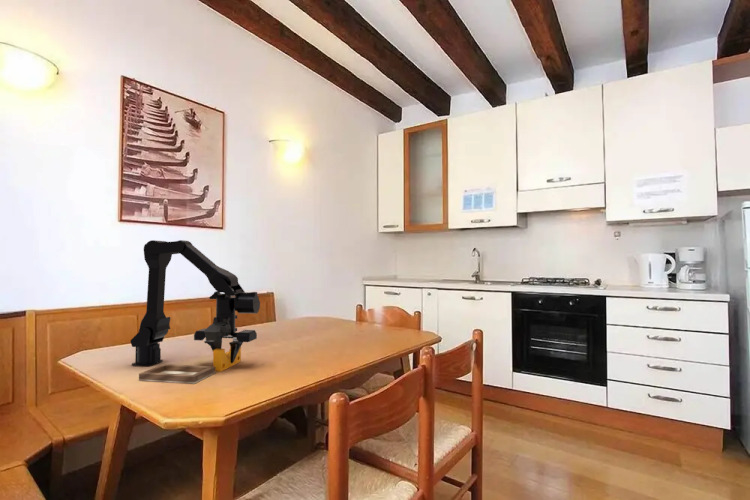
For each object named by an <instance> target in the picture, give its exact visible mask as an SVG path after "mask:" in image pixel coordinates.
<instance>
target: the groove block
mask: <svg viewBox="0 0 750 500" xmlns="http://www.w3.org/2000/svg"><path fill="white" fill-rule="evenodd" d="M214 374H216V371H215V367H213V365H212V366H210V365H208V366H207V365H192V364H191V365H189V364H188V365H187V364H169V363H163V364H161V365H158V366H155V367H153V368H150V369H147V370H145V371H143V372H140V373H138V381H142V382H158V383H159V382H160V383H174V384H175V383H176V384H177V383H178V384H188V385H189V384H190V385H191V384H193V385H195V384H197V383H200V382H201V381H203V380H205V379H207V378H209V377H210V376H213V375H214Z"/></svg>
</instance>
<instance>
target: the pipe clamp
mask: <svg viewBox="0 0 750 500" xmlns="http://www.w3.org/2000/svg"><path fill="white" fill-rule="evenodd" d="M229 346H230V345H229ZM212 352H213V353H212V355H213V357H212V364H213V365H212V367H215V372H217V373H218V372H220V373H221V372H223V371H225V370H227V369H229V368H231V367H233V366H234V365H236V364H238V363H240V362H242V346H241V347H240V349H239V351H238V353H237V356H236V358H235V360H234V362H233V363H231V346H230V347H229V351H227V352H226V350H225V348H221V349H215V350H212Z"/></svg>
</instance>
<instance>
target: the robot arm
mask: <svg viewBox="0 0 750 500" xmlns="http://www.w3.org/2000/svg"><path fill="white" fill-rule="evenodd" d="M178 254H180V255H182V257H184V258H185V259H186V260H187V261H188V262H190V264H192V265H193V266H194V267H195V268H196V269H198V270H199V271H200V272H201V273H203V275H205V276H206V278H207V280H208V283H209V284H210V285H211V286H212V288H214V290H215V291H214V293H213V294H211V295H210V296H209V300H215V302H216V304H215V305H216V306H215V316H214V317H213V319H212V323H211V324H210V325H209V326H208V327H206V328H201V329H199V330H196V331H195V333H194V334H193V341H203V343H205V344H207V345H208V346H210V348H211V350H212V351H213V350H215V349H222V345H223V339H232V341H230V342H228V344H229V346H231V363H233V362H234V360H235V358H236V356H237V353H238V351H239V349H240V347H241V348H242V345H243V344H244V343H249V342H250V343H251V342H252V341H254V340H257V339H258V338H257V336H258V334H257V332H256V329H244V330H241V331H238V328H237V327H236V319H237V320H238V315H237V314H236V312H237V313H238V314H258V313H259V311H260V308H261V301H260V298H259V296H258V292H257V291H251V292H249V291H248V292H245V290H244V288H243V287H242V286H241V284H240V283H239V278H238V277H237V275H236V274H235V273H232V272H230V271H229V270H227V269H224V268H222V267H220V266H218V265H217V264H215V262H213V261H212V260H211V259H210V258H208V257H207V256H206V255H205V254H204V253H202V251H201V250H200V249H198V248H197V247H195V245H193V243H192V241H189V240H184V239H183V240H181V239H180V240H175V241H166V240H155V239H154V240H149V241H148V242H147V243H144V245H143V256H144V261H145V263H146V265H147V268H148V276H147V292H146V293H147V295H146V309H145V310H146V311H145V314H144V315H143V317H142V319H141V320H140V325H139V329H138V332H137V333H136V335H134V336H133V337H132V338H131V339H130V344H131V347H133V348H135V360H134V361H135V362H132V363H131V366H142V367H143V366H144V367H151V366H153V365H156V364H159V363H160V362H161V363H162V362H163V361H164V359H161V356H162V355H161V350H162V349H161V347H160V345H161V344H160V343H162V342H163V341H164V339H165V336H167V335H168V333H169V330H171V326H170V324H171V323H170V322H171V317H170V316H166V313H165V312H164V311H165V310H164V308H165V306H164V305H165V292H166V291H165V290H166V274H167V273H166V272H167V267H168V265H169V264H170V262H171V260H172V257H173V255H178Z"/></svg>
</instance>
